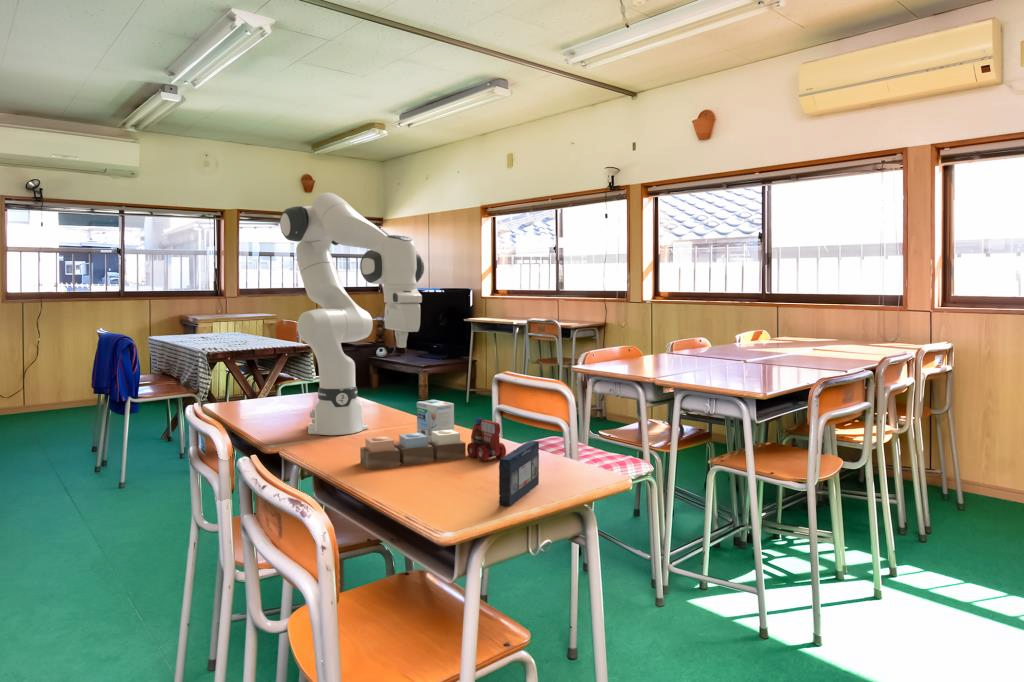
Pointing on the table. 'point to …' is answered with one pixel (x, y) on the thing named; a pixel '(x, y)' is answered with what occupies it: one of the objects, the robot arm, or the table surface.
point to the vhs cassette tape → (518, 473)
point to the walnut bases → (412, 455)
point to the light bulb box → (434, 417)
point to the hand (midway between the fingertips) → (401, 347)
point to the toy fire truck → (485, 441)
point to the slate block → (413, 440)
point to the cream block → (445, 437)
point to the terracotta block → (379, 444)
